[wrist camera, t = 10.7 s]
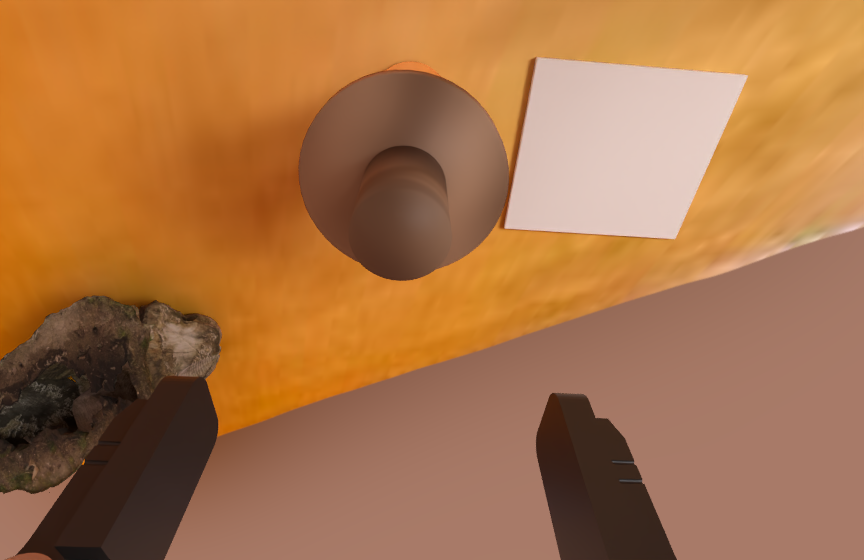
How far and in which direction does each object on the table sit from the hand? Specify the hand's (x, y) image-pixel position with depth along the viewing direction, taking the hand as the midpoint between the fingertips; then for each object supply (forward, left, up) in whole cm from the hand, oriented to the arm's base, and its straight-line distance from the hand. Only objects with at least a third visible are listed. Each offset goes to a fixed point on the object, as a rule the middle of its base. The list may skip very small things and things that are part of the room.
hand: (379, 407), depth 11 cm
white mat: (-17, +3, -29) cm, 34 cm away
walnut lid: (0, 0, -14) cm, 14 cm away
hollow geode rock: (+31, +28, -30) cm, 51 cm away
